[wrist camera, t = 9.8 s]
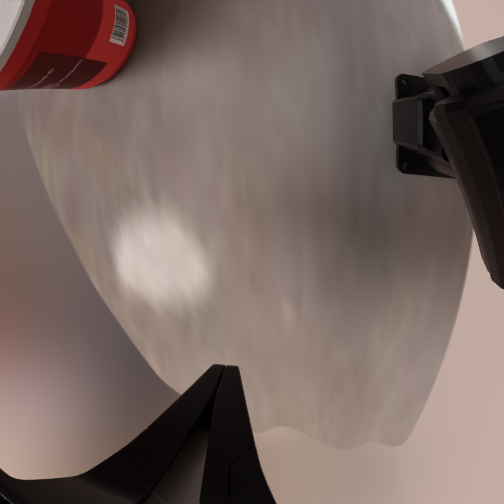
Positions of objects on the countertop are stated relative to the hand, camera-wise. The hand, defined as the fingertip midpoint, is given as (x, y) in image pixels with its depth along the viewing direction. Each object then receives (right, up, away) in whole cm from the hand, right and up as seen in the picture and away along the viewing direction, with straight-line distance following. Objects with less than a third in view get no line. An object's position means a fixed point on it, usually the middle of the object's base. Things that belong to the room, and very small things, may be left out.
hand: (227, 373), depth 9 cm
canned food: (-11, +20, +6) cm, 23 cm away
